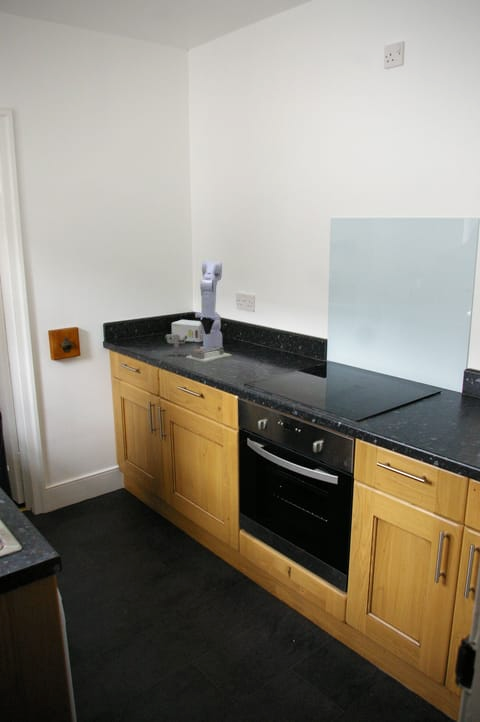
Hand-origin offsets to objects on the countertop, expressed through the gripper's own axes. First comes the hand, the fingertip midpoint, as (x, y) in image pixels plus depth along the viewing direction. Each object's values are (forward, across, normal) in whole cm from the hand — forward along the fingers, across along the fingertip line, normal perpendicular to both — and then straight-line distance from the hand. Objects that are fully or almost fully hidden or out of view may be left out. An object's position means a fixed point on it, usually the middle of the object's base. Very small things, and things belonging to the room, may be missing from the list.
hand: (207, 333), depth 277 cm
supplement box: (+11, -36, +23) cm, 44 cm away
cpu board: (+10, +3, -2) cm, 11 cm away
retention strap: (+7, +3, -3) cm, 8 cm away
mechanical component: (+11, -10, -11) cm, 18 cm away
